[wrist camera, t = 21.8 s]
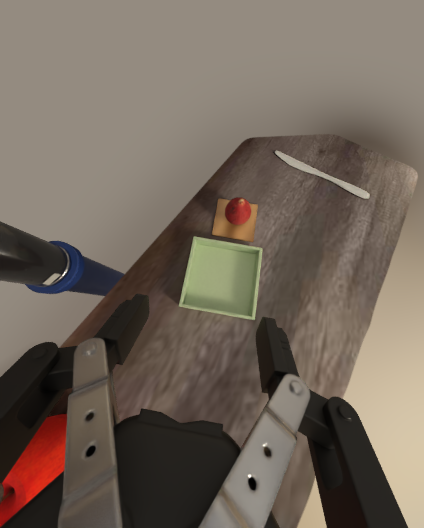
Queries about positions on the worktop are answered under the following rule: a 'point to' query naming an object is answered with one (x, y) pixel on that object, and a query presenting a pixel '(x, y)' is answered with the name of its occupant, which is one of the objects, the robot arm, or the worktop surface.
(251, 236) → the cork mat
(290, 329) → the worktop surface
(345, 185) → the butter knife
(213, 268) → the tray
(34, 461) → the apple
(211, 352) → the worktop surface
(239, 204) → the red rounded piece
